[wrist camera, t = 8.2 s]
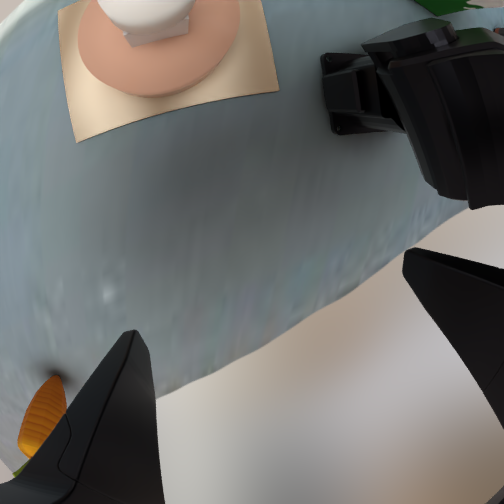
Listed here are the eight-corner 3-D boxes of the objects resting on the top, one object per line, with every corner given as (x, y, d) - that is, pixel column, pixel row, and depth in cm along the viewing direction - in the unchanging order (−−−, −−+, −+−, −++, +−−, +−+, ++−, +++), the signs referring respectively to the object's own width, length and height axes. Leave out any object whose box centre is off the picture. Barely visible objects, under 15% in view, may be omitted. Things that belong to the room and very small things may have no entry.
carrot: (31, 363, 22) (0, 477, 9) (59, 357, 22) (31, 485, 9) (56, 391, 24) (38, 498, 11) (85, 386, 25) (72, 505, 12)
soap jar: (218, -26, 12) (234, -69, 6) (240, 81, 16) (265, 64, 11) (89, 6, 10) (61, -27, 5) (105, 116, 15) (73, 114, 10)
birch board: (249, -33, 12) (251, -37, 11) (276, 91, 17) (279, 90, 17) (60, 13, 10) (57, 11, 10) (79, 142, 15) (76, 142, 15)
